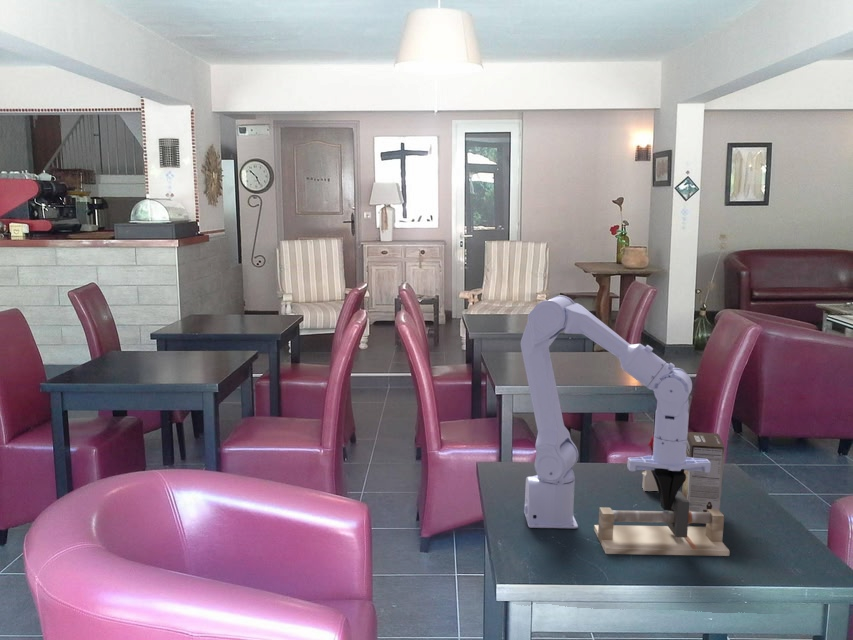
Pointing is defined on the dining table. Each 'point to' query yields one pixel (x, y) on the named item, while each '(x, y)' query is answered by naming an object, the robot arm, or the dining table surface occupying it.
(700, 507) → the coffee box
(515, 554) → the dining table surface
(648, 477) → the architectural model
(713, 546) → the pipe board
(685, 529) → the upright gray tile
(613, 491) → the dining table surface
